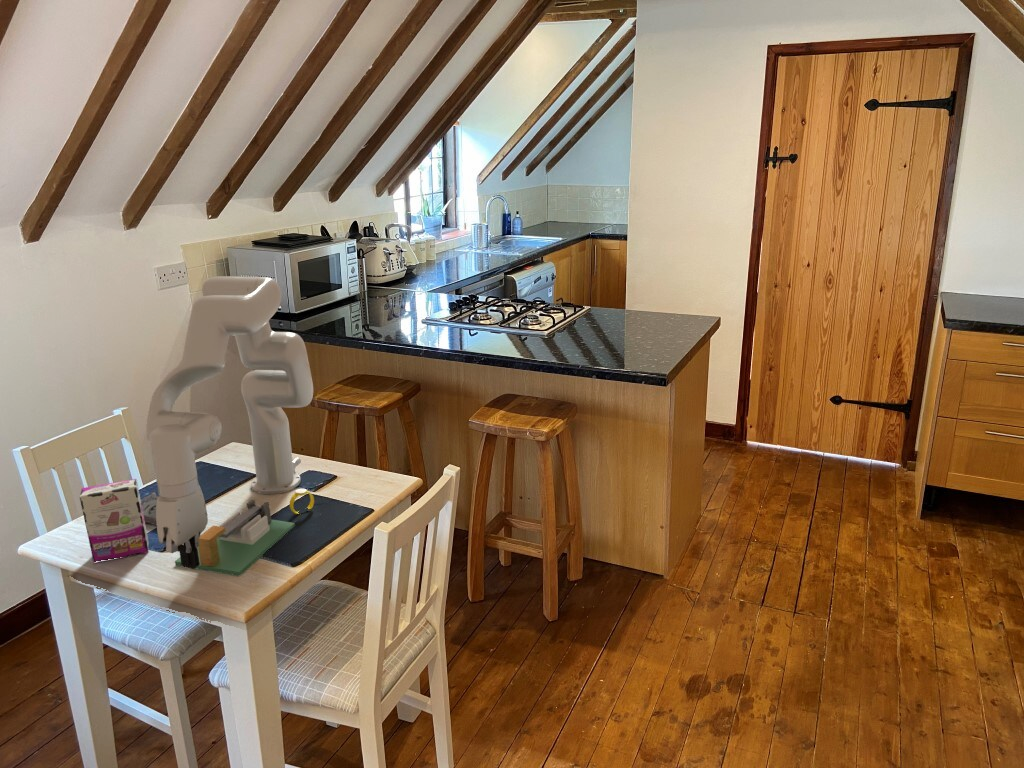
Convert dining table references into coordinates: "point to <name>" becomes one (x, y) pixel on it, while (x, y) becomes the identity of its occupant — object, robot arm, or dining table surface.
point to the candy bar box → (114, 520)
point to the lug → (210, 546)
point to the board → (246, 542)
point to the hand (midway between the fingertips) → (190, 565)
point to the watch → (299, 493)
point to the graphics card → (149, 509)
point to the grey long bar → (241, 520)
